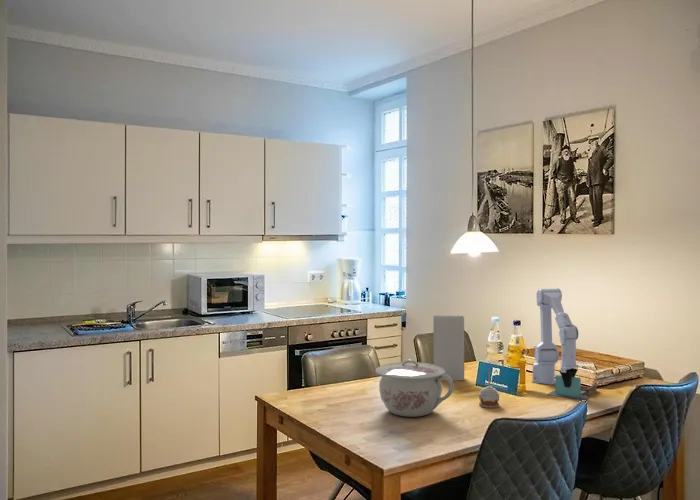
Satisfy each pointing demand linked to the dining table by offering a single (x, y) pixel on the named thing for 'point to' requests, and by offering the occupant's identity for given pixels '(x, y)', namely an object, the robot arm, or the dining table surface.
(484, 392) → the caramel apple
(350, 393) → the dining table surface
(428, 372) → the chamber pot
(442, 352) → the tall grey upright panel
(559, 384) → the teal sheet
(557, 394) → the slate mat
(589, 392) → the offcut rack
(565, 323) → the robot arm
